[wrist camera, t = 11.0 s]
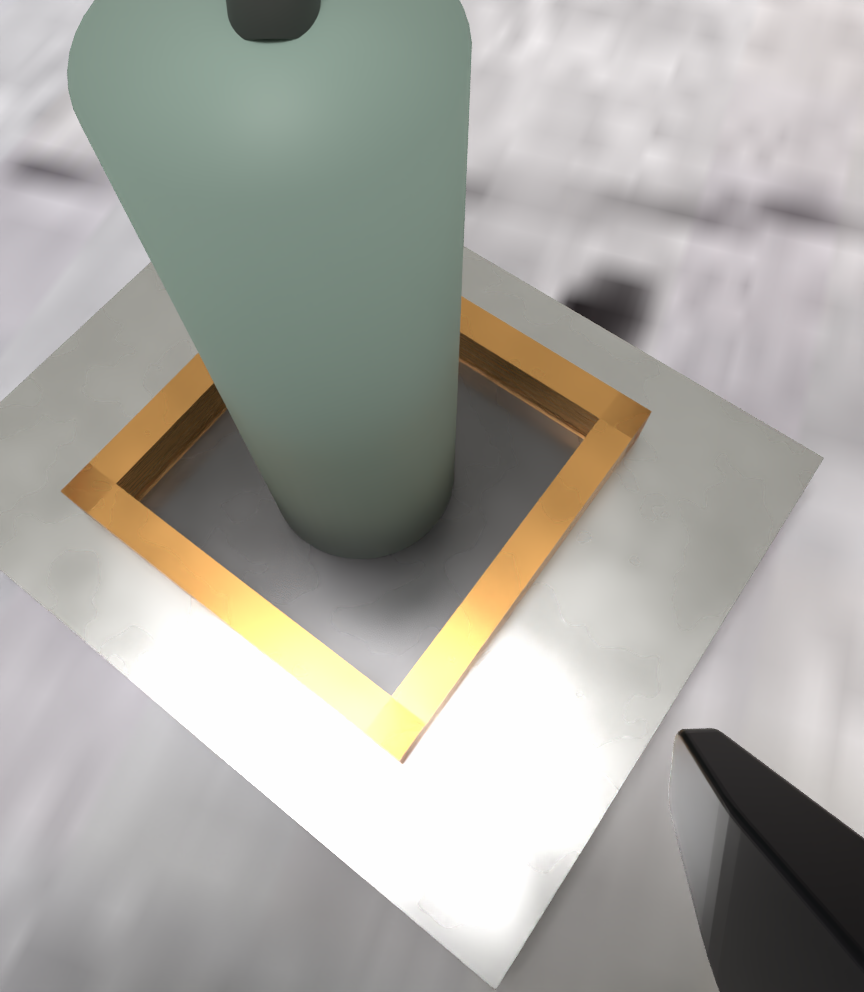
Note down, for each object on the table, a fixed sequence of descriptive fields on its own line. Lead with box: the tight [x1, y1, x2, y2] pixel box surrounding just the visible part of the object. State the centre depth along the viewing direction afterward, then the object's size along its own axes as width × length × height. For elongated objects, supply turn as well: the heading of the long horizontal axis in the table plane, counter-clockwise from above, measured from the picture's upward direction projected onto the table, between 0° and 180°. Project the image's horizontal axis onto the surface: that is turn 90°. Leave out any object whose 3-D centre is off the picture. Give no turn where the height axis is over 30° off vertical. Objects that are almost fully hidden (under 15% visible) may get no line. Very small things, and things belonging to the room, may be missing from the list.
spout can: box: [67, 0, 472, 559], centre depth 15 cm, size 5×5×15 cm
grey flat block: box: [0, 246, 824, 990], centre depth 22 cm, size 20×16×4 cm
